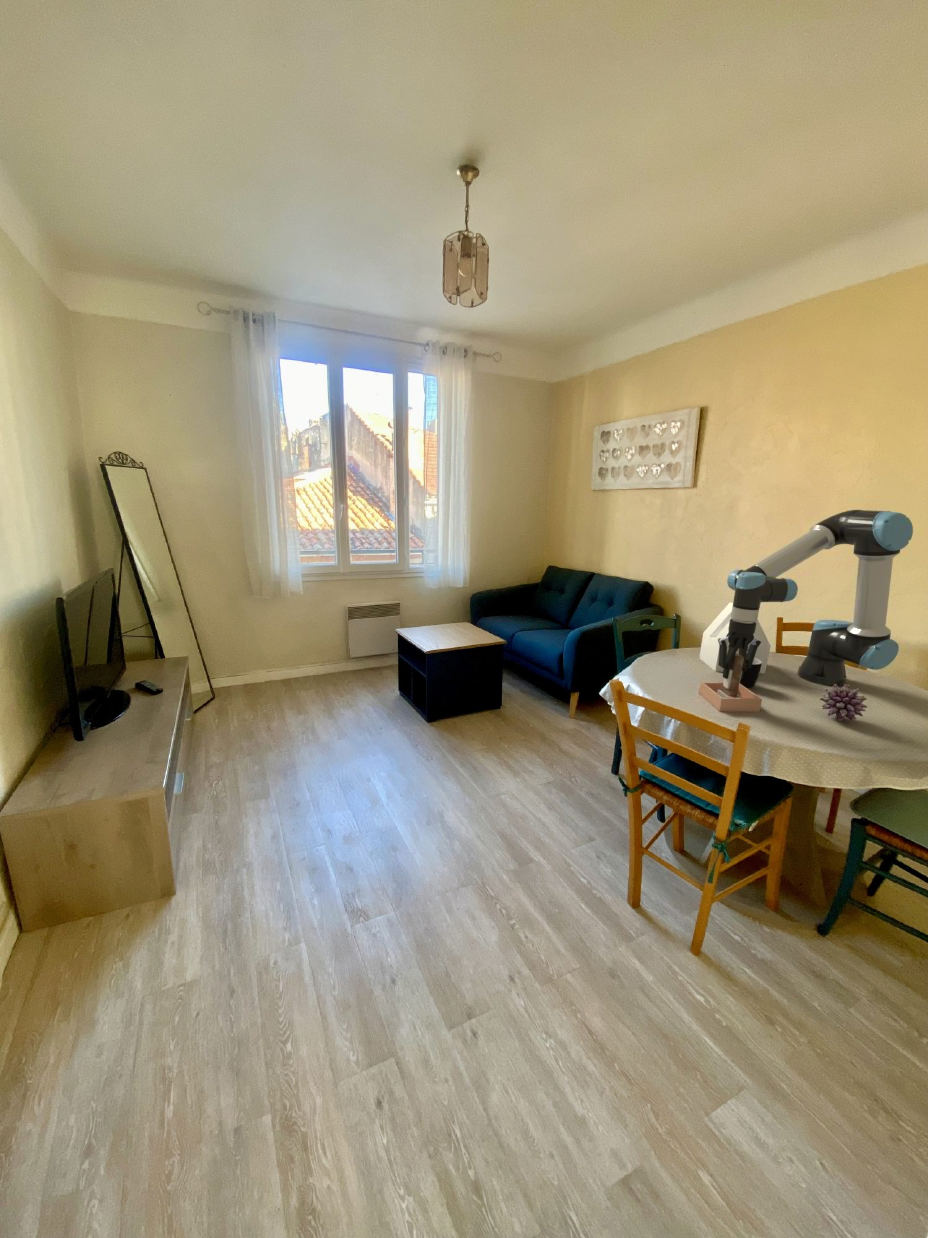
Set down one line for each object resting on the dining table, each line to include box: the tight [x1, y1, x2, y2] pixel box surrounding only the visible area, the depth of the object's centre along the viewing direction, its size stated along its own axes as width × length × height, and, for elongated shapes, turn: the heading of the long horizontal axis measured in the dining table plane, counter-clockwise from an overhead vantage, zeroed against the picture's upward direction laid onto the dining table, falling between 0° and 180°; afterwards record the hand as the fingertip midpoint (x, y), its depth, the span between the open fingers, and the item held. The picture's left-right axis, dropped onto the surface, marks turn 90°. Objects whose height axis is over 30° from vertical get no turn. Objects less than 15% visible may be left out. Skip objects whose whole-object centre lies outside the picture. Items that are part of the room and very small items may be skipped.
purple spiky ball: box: [819, 683, 868, 722], centre depth 149 cm, size 12×12×12 cm
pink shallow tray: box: [698, 681, 763, 713], centre depth 161 cm, size 13×13×4 cm
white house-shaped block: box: [698, 601, 771, 674], centre depth 193 cm, size 19×15×25 cm
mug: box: [740, 658, 762, 690], centre depth 176 cm, size 12×9×10 cm
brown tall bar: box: [723, 653, 744, 697], centre depth 159 cm, size 2×4×14 cm, turn 1°
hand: (730, 687), depth 160 cm, fingers closed on brown tall bar, 2 cm apart
